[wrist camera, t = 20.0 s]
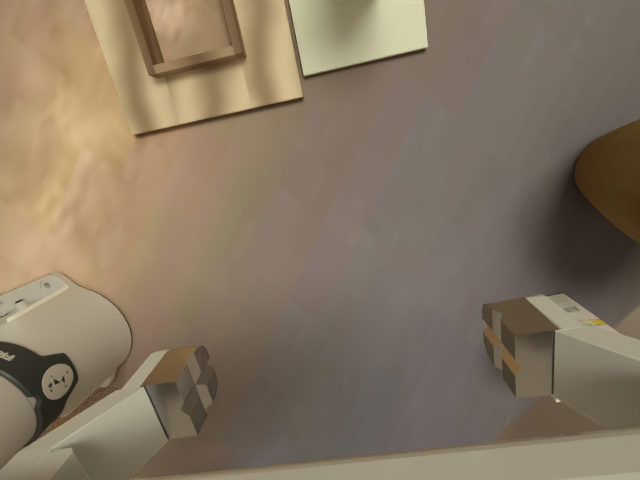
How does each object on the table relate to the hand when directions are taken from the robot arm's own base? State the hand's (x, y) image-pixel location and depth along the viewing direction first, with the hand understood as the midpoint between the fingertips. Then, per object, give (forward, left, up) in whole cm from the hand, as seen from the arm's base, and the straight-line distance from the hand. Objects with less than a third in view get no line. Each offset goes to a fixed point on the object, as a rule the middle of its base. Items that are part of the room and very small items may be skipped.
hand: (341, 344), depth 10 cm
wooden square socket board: (-12, +20, -31) cm, 39 cm away
